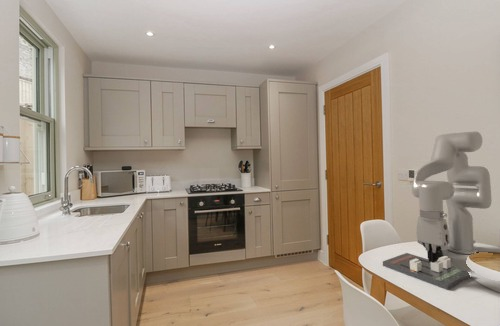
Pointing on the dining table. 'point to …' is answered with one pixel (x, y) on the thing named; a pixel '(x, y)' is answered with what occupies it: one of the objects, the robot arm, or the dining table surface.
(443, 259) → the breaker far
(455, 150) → the robot arm
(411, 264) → the block
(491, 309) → the dining table surface
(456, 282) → the breaker board
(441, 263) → the block
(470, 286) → the dining table surface
